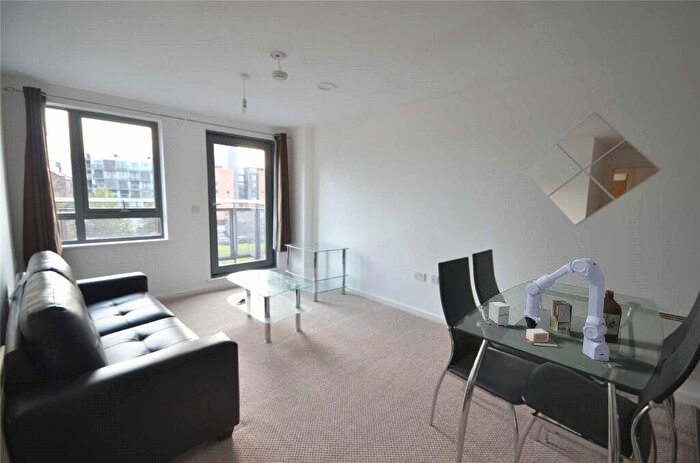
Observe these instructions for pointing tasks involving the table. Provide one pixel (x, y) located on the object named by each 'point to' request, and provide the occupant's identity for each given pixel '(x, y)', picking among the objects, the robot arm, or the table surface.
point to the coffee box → (561, 316)
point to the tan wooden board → (535, 345)
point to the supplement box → (499, 313)
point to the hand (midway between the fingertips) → (531, 331)
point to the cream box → (537, 335)
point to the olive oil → (611, 317)
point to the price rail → (545, 344)
